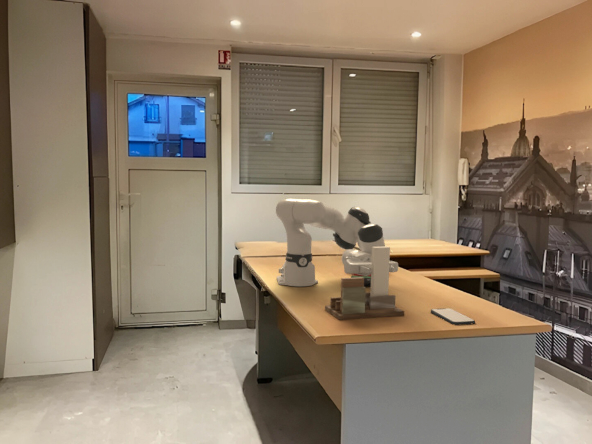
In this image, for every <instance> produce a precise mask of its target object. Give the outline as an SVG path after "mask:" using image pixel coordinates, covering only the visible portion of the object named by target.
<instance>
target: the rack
mask: <svg viewBox="0 0 592 444" xmlns="http://www.w3.org/2000/svg"><path fill="white" fill-rule="evenodd" d="M340 302H341V296H339V297H338V296H336V297H330V304H329V305H324V310H325V311H326V312H327V313H329V314H331V315H332V316H334V318H336V319H338V320H339V321H343V320H345V321H346V320H355V319H356V320H358V319H370V318H371V319H372V318H384V317H399V316H405V311H404V310H403V309H401V308H399V307H397V306H396V295H395V294H388V295H387V296H370V292H366V293H365V313H358V314H342V313H341V312H340Z"/></svg>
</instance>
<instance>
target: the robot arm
mask: <svg viewBox="0 0 592 444" xmlns="http://www.w3.org/2000/svg"><path fill="white" fill-rule="evenodd" d="M275 214H276V216H277V218H278V219H279V221H281V223H282V225H283V227H284V229H285V233H286V237H287V238H286V242H287V243H286V244H287V245H286V247H287V248H286V249H287V250H286V253H285V261H284V263H283V264H282V266H281V268H278V274H280V275H277V276H276V280H277V283H278V285H280V286H281V285H283V286H284V285H285V286H289V287H290V286H291V287H309V286H313V285H314V284H315V285H316V284H318V283H319V280H317V279H316V267H315V266H316V265H315V264H314V263H313V262H312V261H313V253H312V235H311V234H310V233H309V232H308V231H307V230H306V228H305V225H304V224H306V225H310V226H311V227H313V228H314V227H315V228H319V229H324V230H328V231H329V230H331V231H333V232H334V233H332V236H333V237H334V242H335V244H336V245H337V246H338V247H339V248H340V249H342V250H344V251H343V253H342V255H341V263H342V265H343V270H344V274H349V275H353V274H358V275H357V276H359V275H363V276H368V275H371V263H372V247H386V244H385V238H384V233H383V231H384V230H383V227H381V226H380V225H379V224H375V223H372V222H371V221H370V215H369V213H368V212H367V211H366V210H365V209H364V208H362V207H357V206H352V207H350V209H349V210H348V212H347V214H346V215H345V217H344V215H343V214H342V212H341V211H339V210H337V209H335V208H334V207H331V206H327V205H324V204H323V202H322V201H319V200H315V199H310V198H309V199H308V198H293V197H292V198H290V197H289V198H285V199H280V200H279V201H278V203H277V204H276V208H275ZM356 246H358V248H359V249H354V248H355V247H356ZM398 271H399V263H398V262H397V261H393V260H390V261H389V273H397V272H398Z"/></svg>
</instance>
